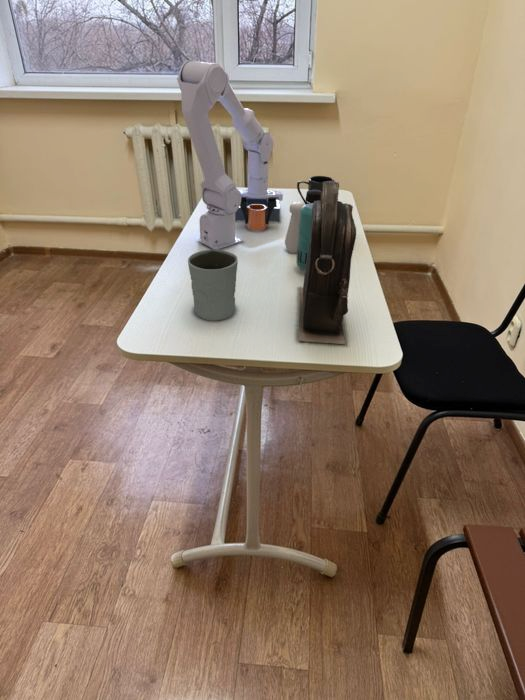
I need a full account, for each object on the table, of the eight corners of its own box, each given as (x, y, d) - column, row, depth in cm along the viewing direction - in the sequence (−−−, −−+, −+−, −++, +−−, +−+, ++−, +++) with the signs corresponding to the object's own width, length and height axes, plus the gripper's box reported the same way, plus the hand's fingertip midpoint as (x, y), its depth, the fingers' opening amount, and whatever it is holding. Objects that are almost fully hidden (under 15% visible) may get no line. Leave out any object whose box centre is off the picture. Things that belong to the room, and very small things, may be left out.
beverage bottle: (322, 266, 122) (331, 188, 110) (318, 278, 117) (327, 197, 105) (298, 263, 123) (304, 185, 111) (292, 274, 118) (298, 193, 106)
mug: (294, 204, 161) (295, 175, 156) (328, 204, 162) (331, 175, 156) (296, 212, 154) (298, 182, 149) (333, 212, 155) (336, 183, 150)
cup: (255, 233, 139) (256, 211, 135) (243, 227, 142) (243, 206, 139) (269, 229, 142) (270, 207, 138) (257, 223, 145) (258, 202, 142)
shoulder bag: (299, 288, 112) (310, 165, 96) (338, 290, 112) (355, 167, 95) (298, 342, 94) (311, 201, 77) (344, 345, 93) (367, 204, 77)
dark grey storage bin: (279, 222, 147) (279, 208, 144) (235, 221, 146) (235, 207, 144) (277, 207, 158) (278, 194, 155) (237, 206, 157) (237, 193, 155)
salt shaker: (305, 255, 127) (309, 207, 120) (284, 254, 127) (287, 206, 120) (304, 246, 132) (308, 200, 125) (284, 245, 132) (286, 199, 125)
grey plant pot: (195, 324, 98) (192, 272, 91) (187, 301, 106) (184, 251, 99) (243, 318, 100) (243, 266, 93) (232, 296, 108) (231, 246, 101)
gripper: (283, 173, 137) (280, 218, 145) (232, 171, 137) (233, 217, 144) (283, 180, 131) (281, 227, 139) (231, 178, 131) (232, 226, 139)
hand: (256, 223), depth 141 cm, fingers closed on cup, 5 cm apart
